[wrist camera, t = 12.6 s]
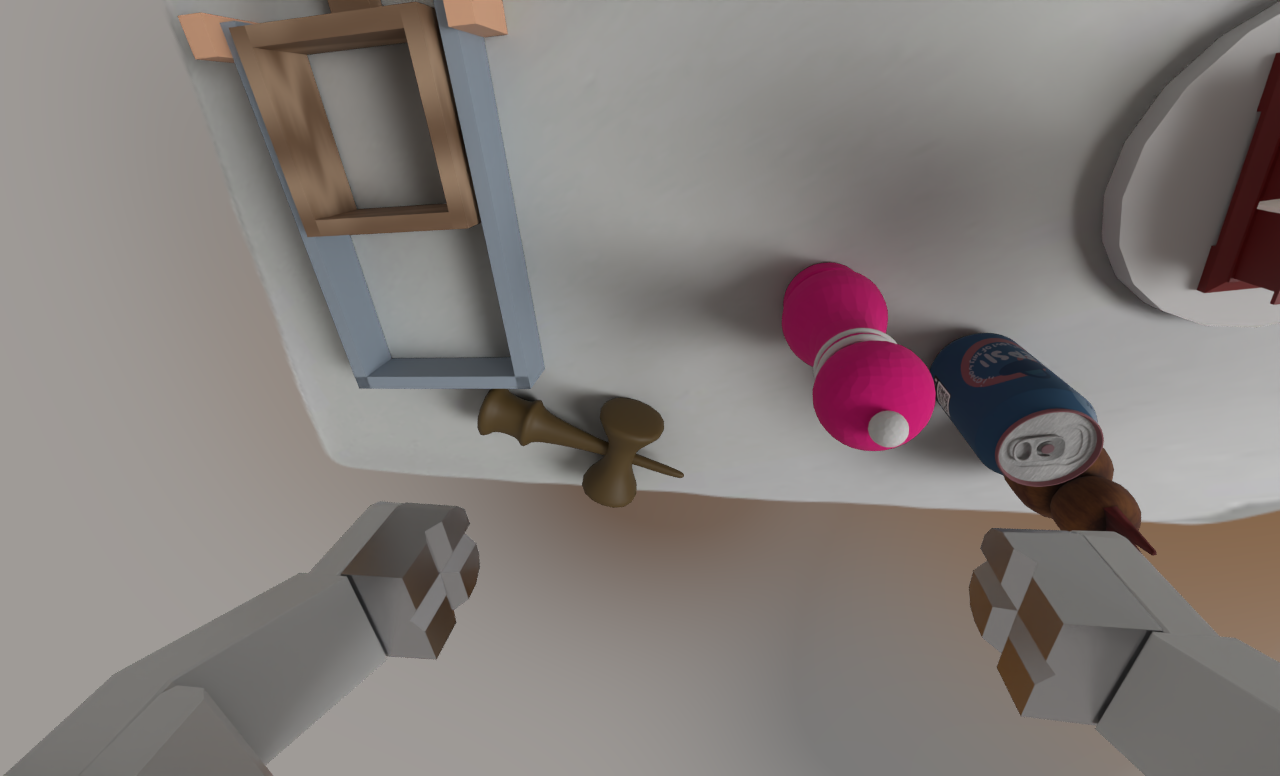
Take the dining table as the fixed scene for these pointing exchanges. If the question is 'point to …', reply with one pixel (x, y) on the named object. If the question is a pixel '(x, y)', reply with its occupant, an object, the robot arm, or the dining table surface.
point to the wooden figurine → (1088, 503)
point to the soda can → (1015, 411)
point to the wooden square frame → (305, 131)
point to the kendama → (584, 439)
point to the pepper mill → (855, 359)
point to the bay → (464, 21)
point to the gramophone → (1206, 187)
